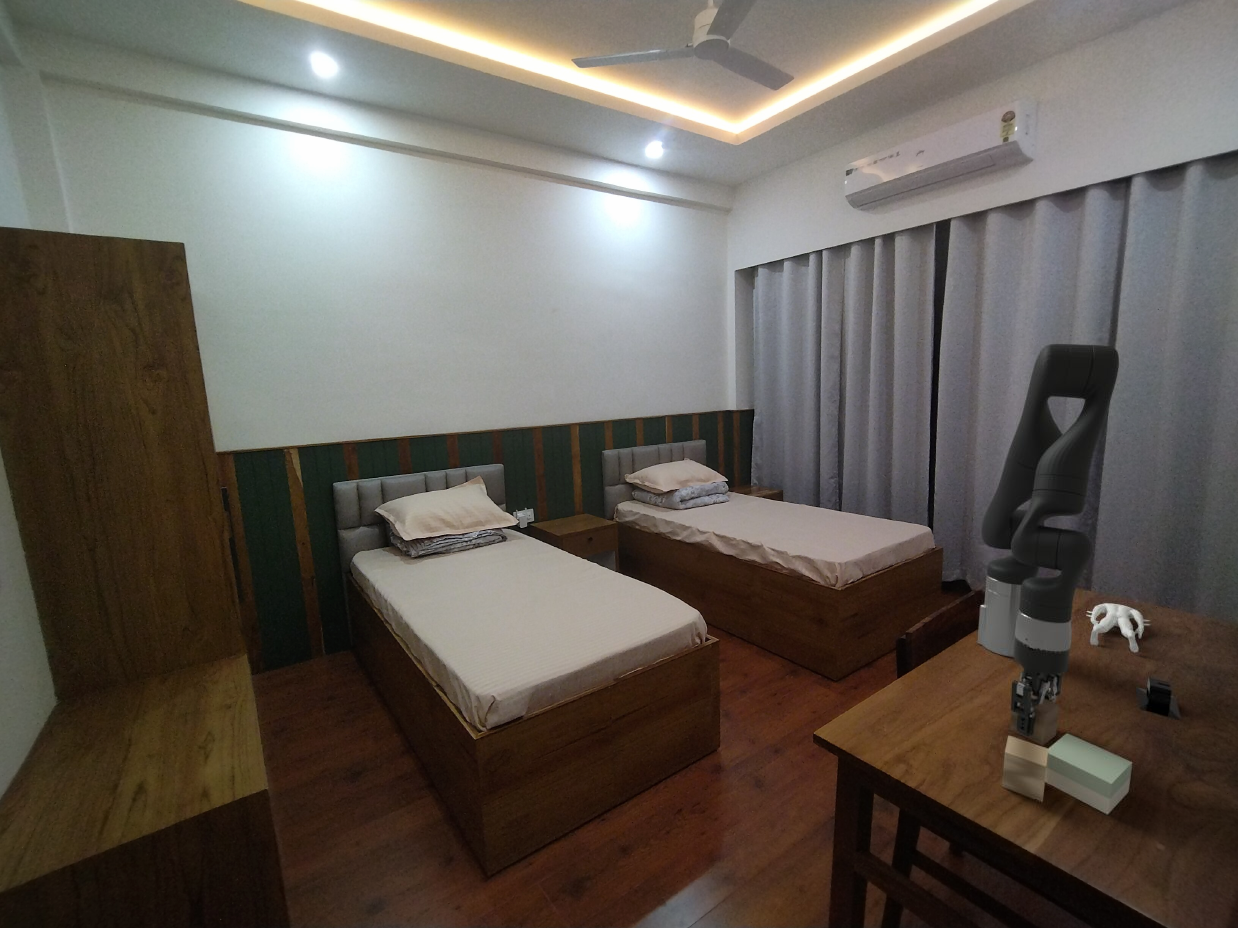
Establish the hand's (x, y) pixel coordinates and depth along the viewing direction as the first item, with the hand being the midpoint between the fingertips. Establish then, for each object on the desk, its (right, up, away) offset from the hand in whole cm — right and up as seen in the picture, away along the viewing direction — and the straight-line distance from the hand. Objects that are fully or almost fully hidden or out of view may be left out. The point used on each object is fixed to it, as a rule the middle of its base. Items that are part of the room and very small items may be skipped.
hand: (1033, 725), depth 94 cm
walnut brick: (0, -1, 0) cm, 1 cm away
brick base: (-2, -3, -12) cm, 13 cm away
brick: (-11, -3, -12) cm, 16 cm away
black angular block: (+30, 0, +8) cm, 31 cm away
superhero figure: (+48, +5, +36) cm, 60 cm away
